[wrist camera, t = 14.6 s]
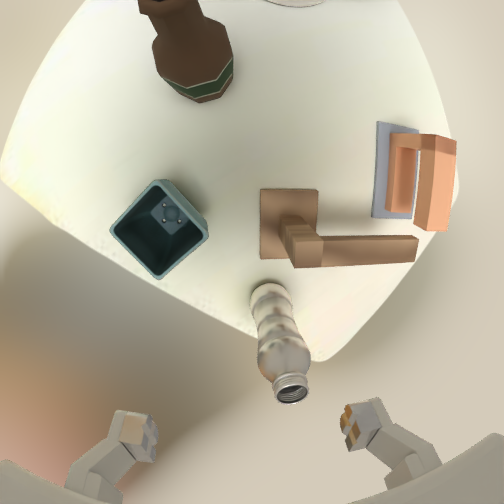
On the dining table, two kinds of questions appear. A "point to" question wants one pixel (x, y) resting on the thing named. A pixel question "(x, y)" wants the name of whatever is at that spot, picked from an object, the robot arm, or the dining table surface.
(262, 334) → the plastic bottle
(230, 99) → the dining table surface
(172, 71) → the beer bottle
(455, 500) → the robot arm
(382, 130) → the felt mat
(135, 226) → the flower pot
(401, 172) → the c link
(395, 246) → the brown wooden angular piece
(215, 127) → the dining table surface
